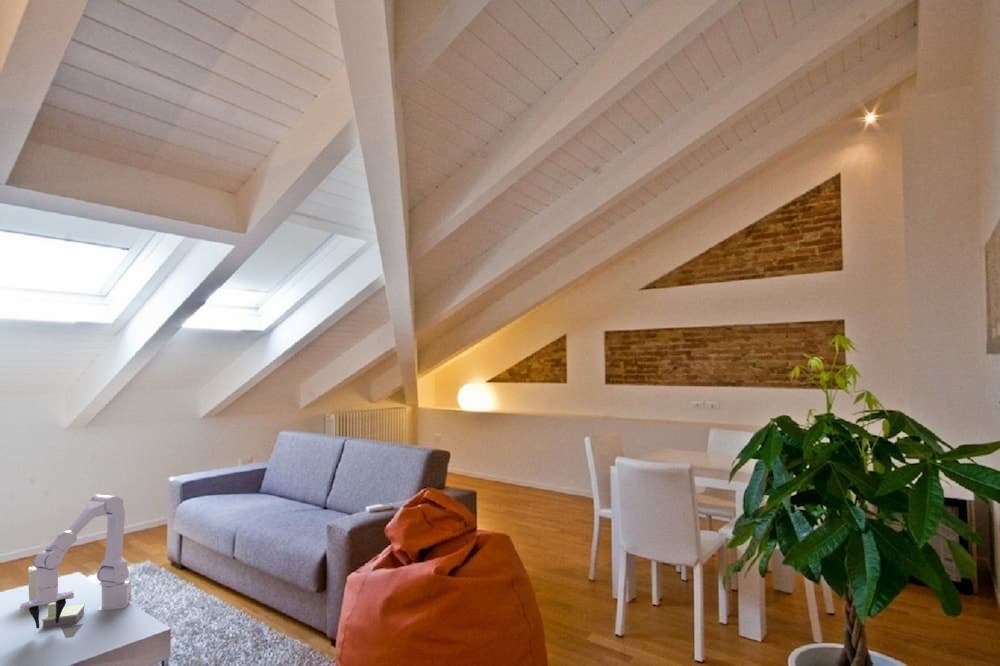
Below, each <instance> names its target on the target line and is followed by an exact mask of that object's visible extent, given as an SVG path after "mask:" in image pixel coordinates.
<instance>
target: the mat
mask: <svg viewBox="0 0 1000 666" xmlns="http://www.w3.org/2000/svg"><path fill="white" fill-rule="evenodd" d="M83 625H84V623H79V624H77V623H76V624H70V625H63V626H61V627H60V628H61V631H62V633H63V635H64V637H65V639H69V638H73V637H75V635H76V634H77V633H78V631H79V630H80V629H81V627H83Z"/></svg>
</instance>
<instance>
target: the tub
mask: <svg viewBox="0 0 1000 666" xmlns="http://www.w3.org/2000/svg"><path fill="white" fill-rule="evenodd" d="M84 614H85V607H84V608H83V609H82V610H81V611H80V613H79V614H78V615H77V616H73V617H66V618H59V623H56V622H55V619H52V620H45V621H42V628H44V629H45V628H51V627H58V626H68V625H76V624H77V623H78V622H79V621H80V620H81V618H82V617H83V616H84Z"/></svg>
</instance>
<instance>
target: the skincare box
mask: <svg viewBox="0 0 1000 666" xmlns="http://www.w3.org/2000/svg"><path fill="white" fill-rule="evenodd" d="M27 570H28V571H27V574H28V575H27V579H28V602H29V601H32V600H35V599H37V572H36V567H35V566H34V565H32V566H29V567H28V569H27Z"/></svg>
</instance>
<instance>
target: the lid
mask: <svg viewBox="0 0 1000 666" xmlns="http://www.w3.org/2000/svg"><path fill="white" fill-rule="evenodd" d="M85 606H86V604H77V605H71V606H64V608H63V610H62V612H61V615H60V618H66V617H73V616H77V615H78V614H79V613H80V611H81V610H82V609H83V608H84V609H85ZM55 617H56V602H53V603H50V604H47V613H46V614H45V616H43V618H42V619H41V621H42V622H43V621H45V620H52V619H55Z"/></svg>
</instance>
